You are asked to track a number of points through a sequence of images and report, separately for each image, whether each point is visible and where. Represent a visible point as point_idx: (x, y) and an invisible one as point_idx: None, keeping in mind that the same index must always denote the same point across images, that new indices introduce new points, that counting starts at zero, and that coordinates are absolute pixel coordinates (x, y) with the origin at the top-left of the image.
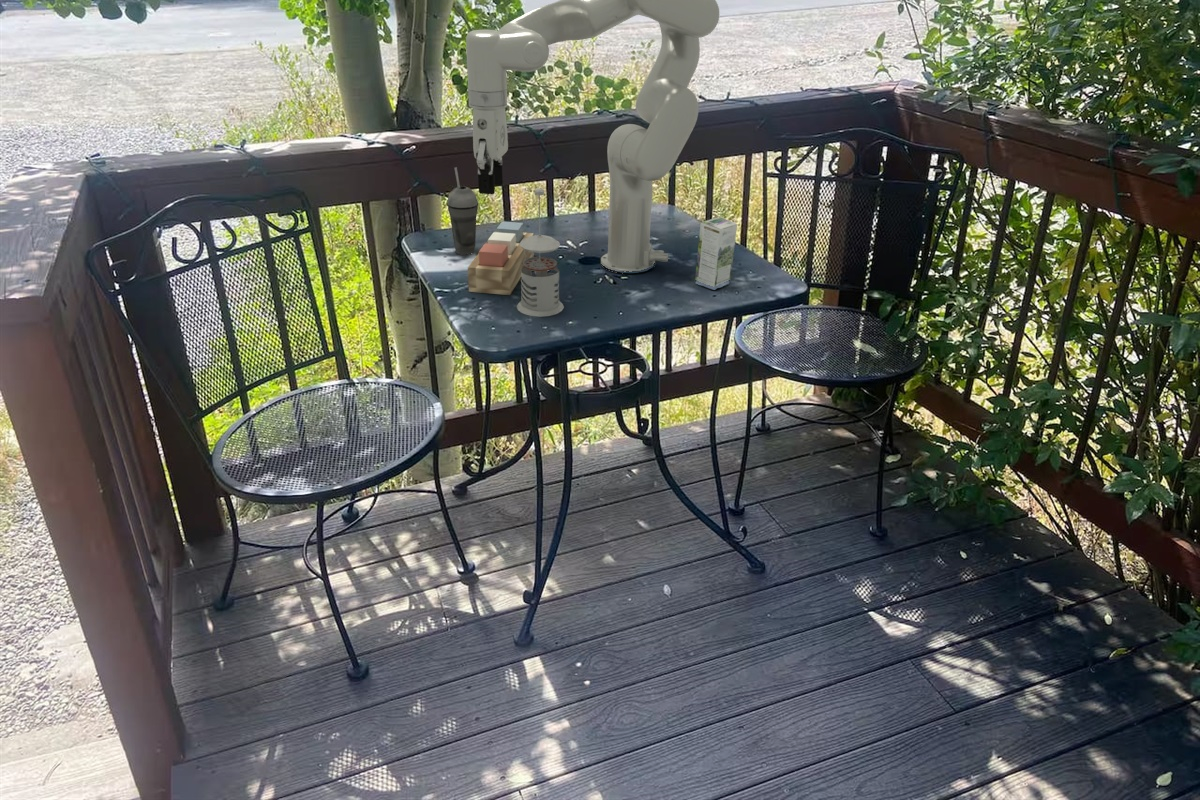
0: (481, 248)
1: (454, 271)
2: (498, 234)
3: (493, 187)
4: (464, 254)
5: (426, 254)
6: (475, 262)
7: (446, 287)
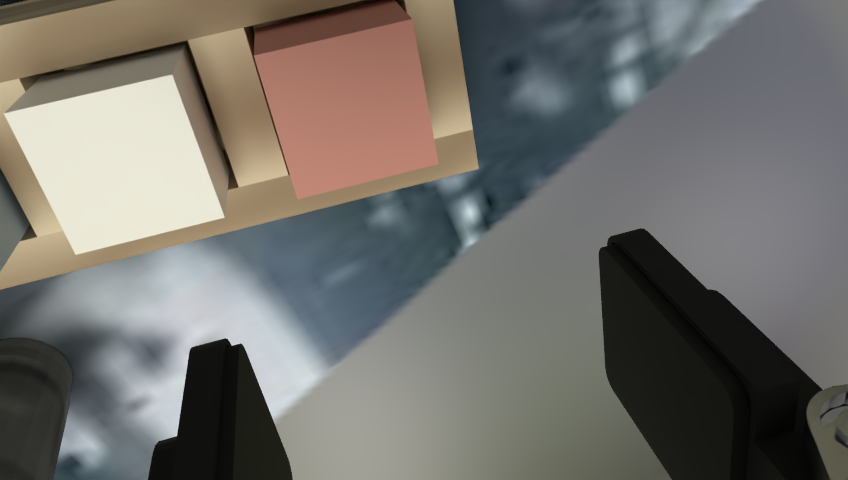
0: (385, 175)
1: (266, 291)
2: (98, 208)
3: (683, 271)
4: (63, 358)
5: None
6: None
7: (440, 228)
